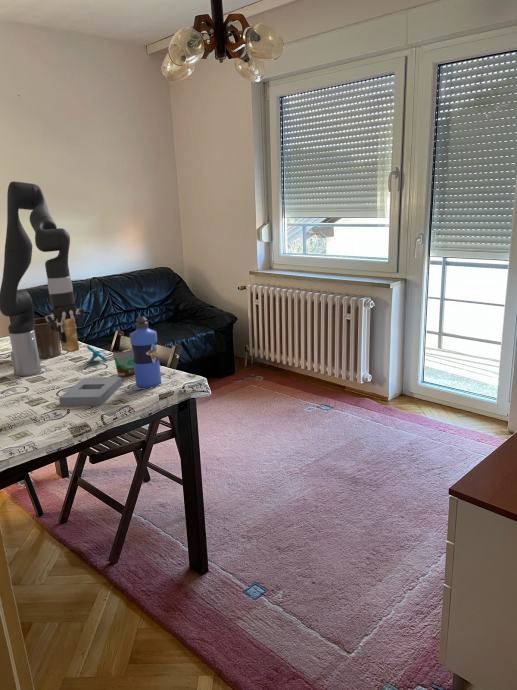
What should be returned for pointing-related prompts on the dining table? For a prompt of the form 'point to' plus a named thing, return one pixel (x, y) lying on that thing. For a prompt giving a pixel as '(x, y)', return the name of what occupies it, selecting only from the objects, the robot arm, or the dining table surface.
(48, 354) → the plant pot
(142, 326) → the water bottle
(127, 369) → the food container
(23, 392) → the dining table surface
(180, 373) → the dining table surface
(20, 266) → the robot arm
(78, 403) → the keyed plate
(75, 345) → the keyed peg
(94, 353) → the gear
